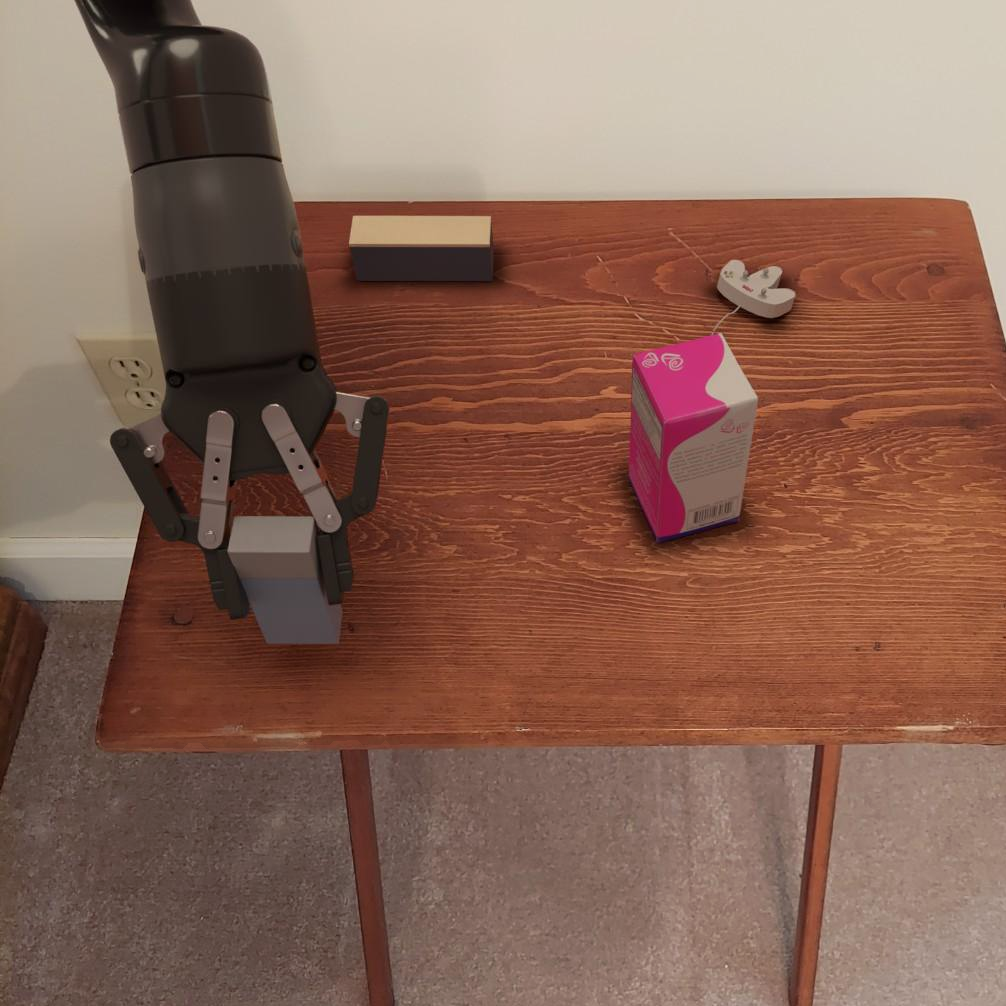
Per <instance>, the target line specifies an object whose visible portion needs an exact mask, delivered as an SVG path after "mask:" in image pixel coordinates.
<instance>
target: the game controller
mask: <svg viewBox="0 0 1006 1006" xmlns="http://www.w3.org/2000/svg"><path fill="white" fill-rule="evenodd" d="M782 274H783V269H782V268H781V267H779V266H777V265H771V266H768V267H765V268H763V269H761V270H759V271H756V272H754V273H752V274H750V275H749V271H748V270H746V267H745V263H744V262H743V261H742V260H739V259H731V260H729V261H728V263H726V264H725V265H724V266H723V267H722V269H721V270H720V273H719V275H718V276H719V277H718V280H717V285H716V288H717V290H718V291H719V293H720V294H721V295H722V296H723V297H724V298H726V300H727V299H728V300H729V302H731V303H733V304H734V305H736V306H737V307H736V308H735V309H734V310H733V311H732V312H728V313H726V315H724V316H723V317H722V318H721V319H720V321H718V323H717V324H716V325H715V326H714V328H713V329H712V332H711V334H710V335H715V331H716V329H717V328H718V327H719V326H720V324H721V323H722V322H723V321H724V319H726V318H727V317H728V316H729V315H732V314H735V313H736V312H737V311H738V310H739V309H740V308H742V309H744V310H746V311H747V312H749V313H752V314H754V315H756V316H759V317H764V318H767V319H775V318H778V317H781V316H783V315H784V314H787V313H788V312H790V311H792V308H793V305H794V301H795V298H796V293H795V291H794V290H793V289H790V288H778V287H779V284H780V281H781V277H782Z"/></svg>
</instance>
